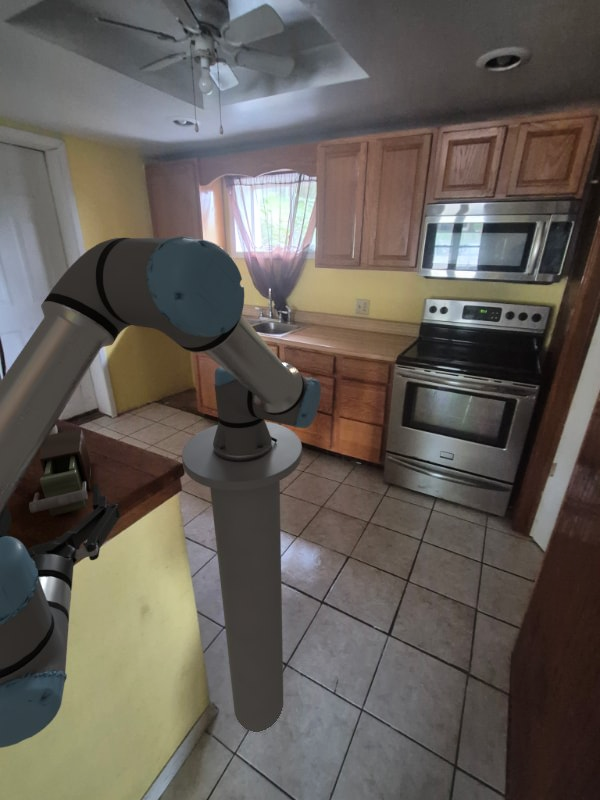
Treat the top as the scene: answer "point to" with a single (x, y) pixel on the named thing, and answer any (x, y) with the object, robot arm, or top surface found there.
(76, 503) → the drawer
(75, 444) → the cabinet
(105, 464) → the top surface
